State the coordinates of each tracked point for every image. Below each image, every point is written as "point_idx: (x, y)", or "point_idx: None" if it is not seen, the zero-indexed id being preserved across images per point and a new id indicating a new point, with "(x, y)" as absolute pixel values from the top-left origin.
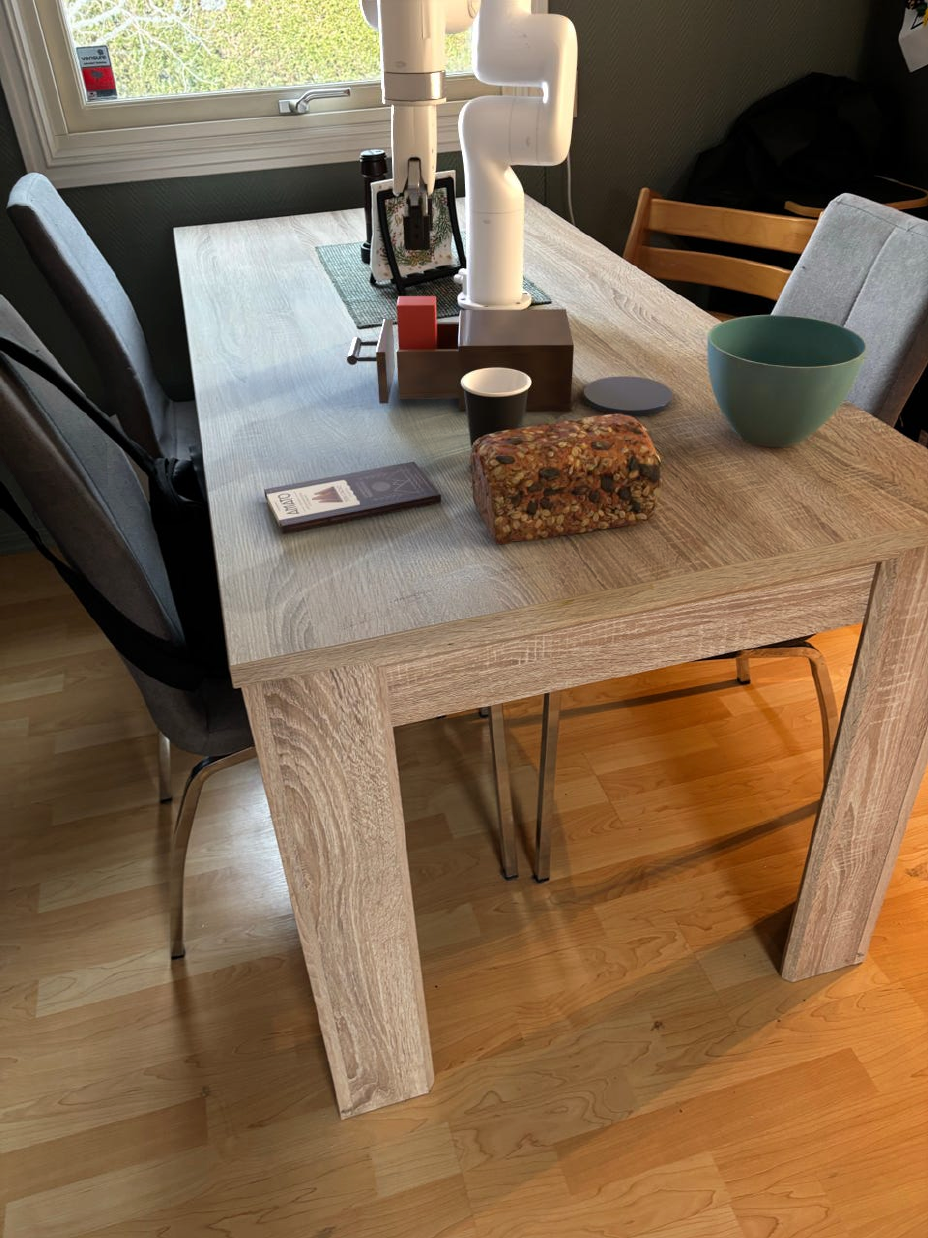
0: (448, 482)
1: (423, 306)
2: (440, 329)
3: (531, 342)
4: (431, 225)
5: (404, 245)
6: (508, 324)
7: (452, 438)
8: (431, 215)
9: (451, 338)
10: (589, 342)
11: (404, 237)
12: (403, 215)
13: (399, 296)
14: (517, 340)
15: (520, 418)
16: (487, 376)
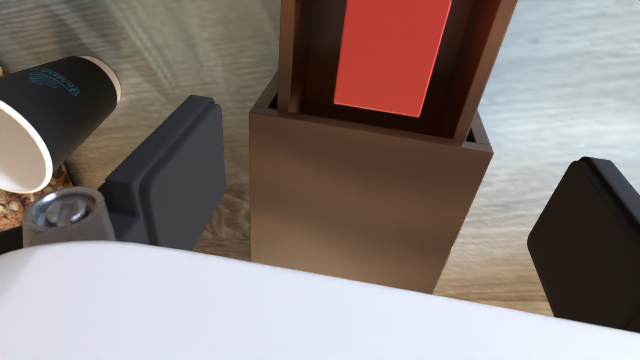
0: (38, 10)
1: (337, 71)
2: (465, 88)
3: (263, 229)
4: (532, 256)
5: (185, 100)
6: (364, 218)
7: (182, 35)
8: (546, 293)
9: (454, 102)
10: (524, 287)
11: (170, 119)
12: (125, 184)
13: (447, 3)
14: (274, 212)
15: (24, 147)
16: (43, 135)
